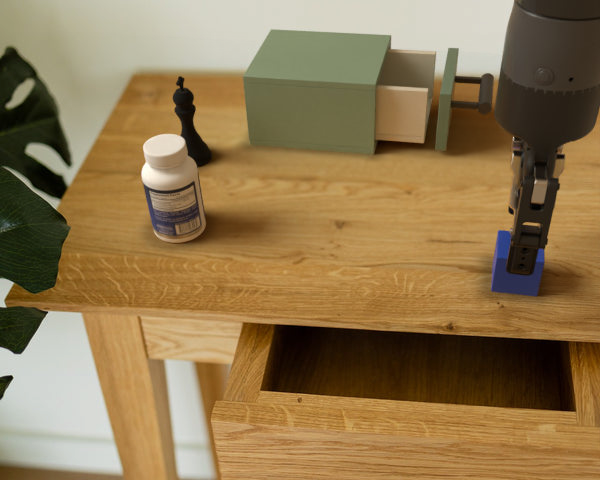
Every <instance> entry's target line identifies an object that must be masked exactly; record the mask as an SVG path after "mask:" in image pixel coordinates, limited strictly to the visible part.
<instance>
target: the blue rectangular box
mask: <svg viewBox="0 0 600 480" xmlns="http://www.w3.org/2000/svg"><path fill="white" fill-rule="evenodd" d="M510 239H511V234H510V230H504V229H503V230H502V229H498V230H497V235H496V240H495V247H494V253H493V259H492V264H491V265H492V267H491V285H490V291H491V292H492V293H501V294H509V295H519V296H520V295H521V296H529V297H538V295H539V289H540V285H541V281H542V276H543V271H544V268H545V261H546V258H545V257H546V255H545V249H539V250H538V255H537V259H536V264H535V268H534V273H533V274H532V275H530V276H524V275H515V274H509V273H508V272H507V271H506V263H507V257H508V252H509V247H510Z"/></svg>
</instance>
